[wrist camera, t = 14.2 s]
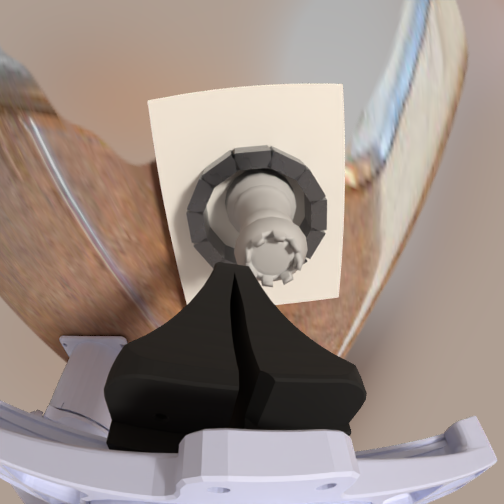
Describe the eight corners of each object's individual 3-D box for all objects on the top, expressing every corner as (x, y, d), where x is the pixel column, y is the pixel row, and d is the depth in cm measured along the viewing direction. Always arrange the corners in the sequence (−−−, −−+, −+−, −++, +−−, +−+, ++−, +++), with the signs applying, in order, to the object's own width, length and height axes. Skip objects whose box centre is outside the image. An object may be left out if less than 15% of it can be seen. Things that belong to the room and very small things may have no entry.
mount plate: (335, 290, 25) (338, 297, 24) (190, 304, 25) (188, 312, 24) (337, 84, 17) (342, 84, 16) (151, 100, 17) (147, 100, 16)
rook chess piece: (304, 181, 19) (344, 234, 12) (277, 239, 21) (297, 314, 14) (240, 156, 18) (242, 195, 11) (215, 218, 20) (205, 288, 13)
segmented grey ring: (318, 258, 22) (325, 273, 20) (202, 270, 22) (200, 285, 20) (317, 142, 18) (326, 147, 16) (183, 154, 18) (177, 160, 16)
